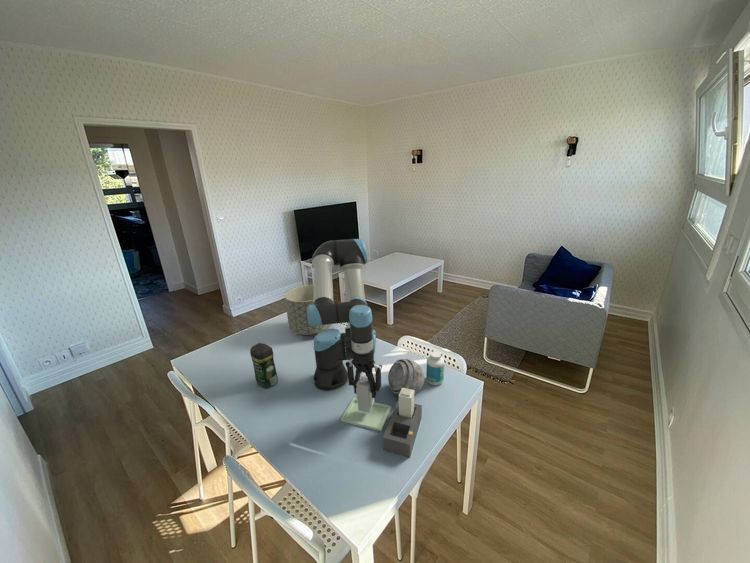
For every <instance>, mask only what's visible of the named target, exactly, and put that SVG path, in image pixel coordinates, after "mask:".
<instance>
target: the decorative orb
mask: <svg viewBox="0 0 750 563" xmlns="http://www.w3.org/2000/svg"><path fill="white" fill-rule="evenodd" d="M424 374H425V373H424V371H423V369H422V367H421V365H420V364H419V363H417V362H416V361H414V360H412V359H409V358H400V359H397V360H396V361H394V362H393V364H392V365H391V367H390V368H389V371H388V375H387V379H388V380H387V381H388V386H389V388H390V391H391V392H393V393H394V394H395V395H397V396H399V394H400V391H401V389H402V388H407V389H412V390H414V396H416V395H417V394H418V393H419V392H420V391H421V390H422V388H423V386H424V385H425V384H424V383H425V375H424Z"/></svg>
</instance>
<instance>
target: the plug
mask: <svg viewBox="0 0 750 563" xmlns="http://www.w3.org/2000/svg"><path fill="white" fill-rule="evenodd" d="M370 390H371V388H370V385H369V381H368V378H367V376H366V377H364V376H360V379H359V381H358V383H357V394H356V398H358V410H359V411H363V412H367V413H370V411H371V409H372V407H373V405H374V403H373V405H372V406H370V393H369V391H370Z"/></svg>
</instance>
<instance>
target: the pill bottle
mask: <svg viewBox="0 0 750 563" xmlns="http://www.w3.org/2000/svg"><path fill="white" fill-rule="evenodd" d="M425 373H426V374H425V375H426V377H425V378H426V382H427V383H428V384H429V385H432V386H440V385H442V384H443V382H444V376H445V359H444V358H443V357H442V353H441V352H440V351H438V350H437V351H435V350H433V351H431V352H430V353H429V356H428V357H427V358H426V372H425Z"/></svg>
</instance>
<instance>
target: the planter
mask: <svg viewBox="0 0 750 563" xmlns="http://www.w3.org/2000/svg"><path fill="white" fill-rule="evenodd" d="M313 297H314V284H311V285H310V284H309V285H308V284H307V285H301V286H297V287H294V288H291V289H289V290H288V291H287V292H285V294H284V303H285V308H286V310H285V311H286V317H287V322H288V328H289V330H290V332H292V333H293V334H296V335H302V336H306V335H307V336H313V335H315V334H316V335H317V334H318V333H320V332H321V331H324V330H327V329H330V327H331V326H332V325H333V324H327V325H321V326H320V325H317V326H311V325H309V323H308V319H307V307H308V306H309V305H313Z"/></svg>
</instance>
